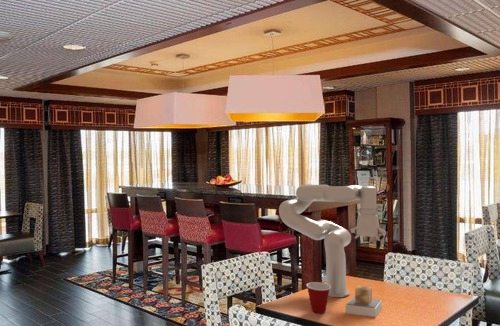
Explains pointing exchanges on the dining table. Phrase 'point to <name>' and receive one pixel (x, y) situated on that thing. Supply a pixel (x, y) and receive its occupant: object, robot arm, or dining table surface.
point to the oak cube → (363, 295)
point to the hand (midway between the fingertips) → (368, 247)
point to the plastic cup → (318, 296)
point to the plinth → (364, 307)
